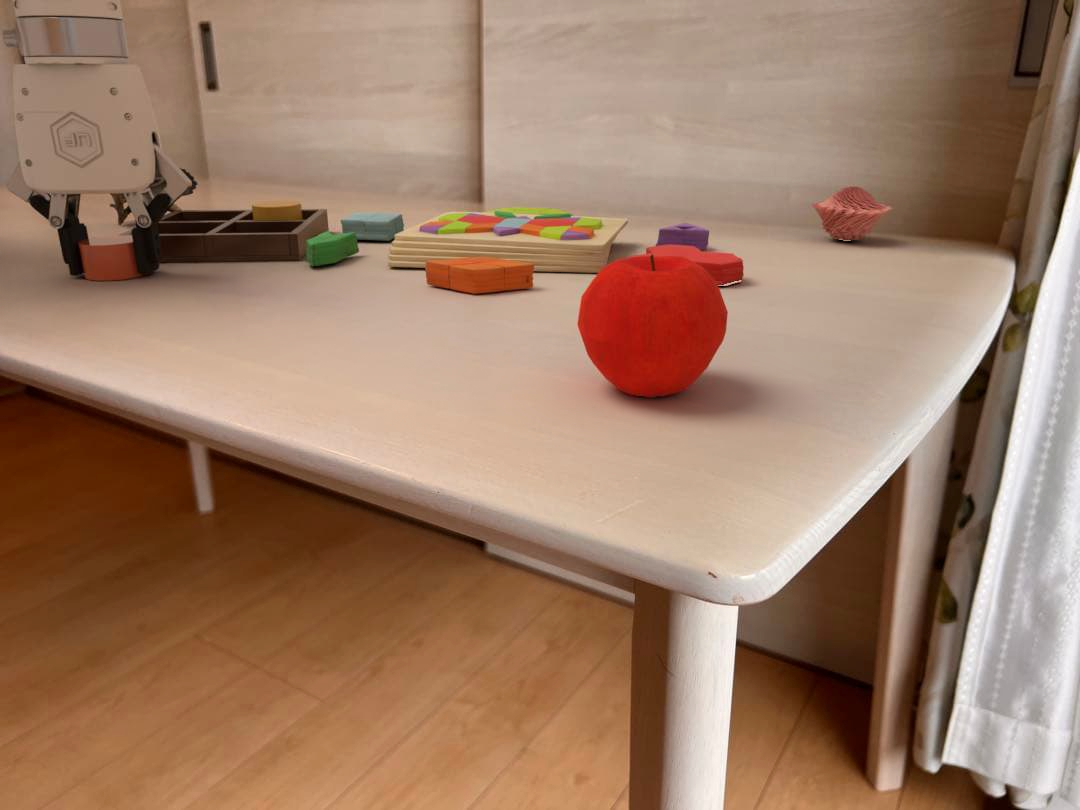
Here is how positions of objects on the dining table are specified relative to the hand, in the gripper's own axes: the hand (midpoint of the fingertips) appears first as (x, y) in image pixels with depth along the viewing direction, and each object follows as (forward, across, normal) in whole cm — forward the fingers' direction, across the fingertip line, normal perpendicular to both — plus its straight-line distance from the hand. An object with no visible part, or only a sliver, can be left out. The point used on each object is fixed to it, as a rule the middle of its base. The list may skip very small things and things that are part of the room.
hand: (115, 269), depth 74 cm
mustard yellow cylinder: (0, +10, +17) cm, 20 cm away
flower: (+1, +70, +12) cm, 71 cm away
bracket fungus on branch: (+1, -7, +30) cm, 31 cm away
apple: (+1, +41, -32) cm, 52 cm away
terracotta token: (0, 0, 0) cm, 0 cm away
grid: (0, +6, +14) cm, 15 cm away
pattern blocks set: (+1, +35, +7) cm, 36 cm away
